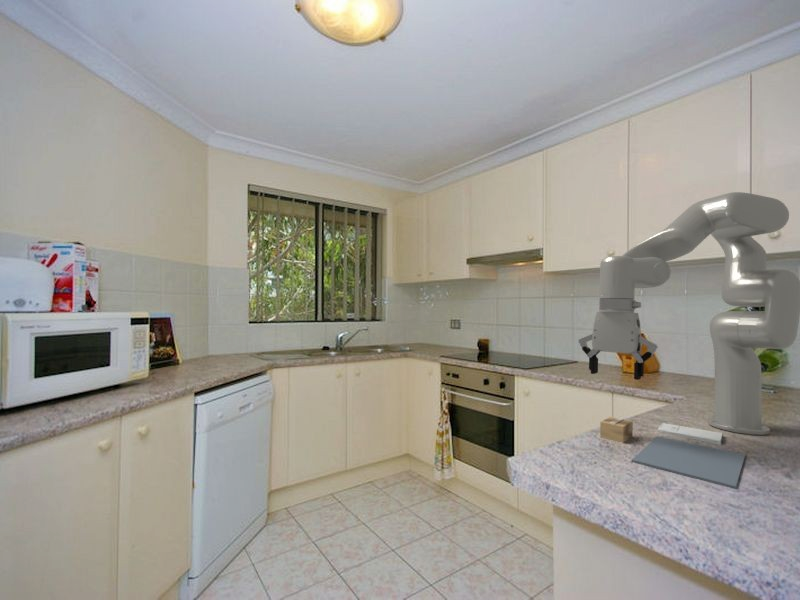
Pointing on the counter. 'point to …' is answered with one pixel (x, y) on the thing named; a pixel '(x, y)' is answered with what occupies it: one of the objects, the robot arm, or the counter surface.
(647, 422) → the counter surface
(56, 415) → the counter surface
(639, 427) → the counter surface
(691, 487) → the counter surface
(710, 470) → the mat
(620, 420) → the taped cardboard box
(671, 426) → the external hard drive
